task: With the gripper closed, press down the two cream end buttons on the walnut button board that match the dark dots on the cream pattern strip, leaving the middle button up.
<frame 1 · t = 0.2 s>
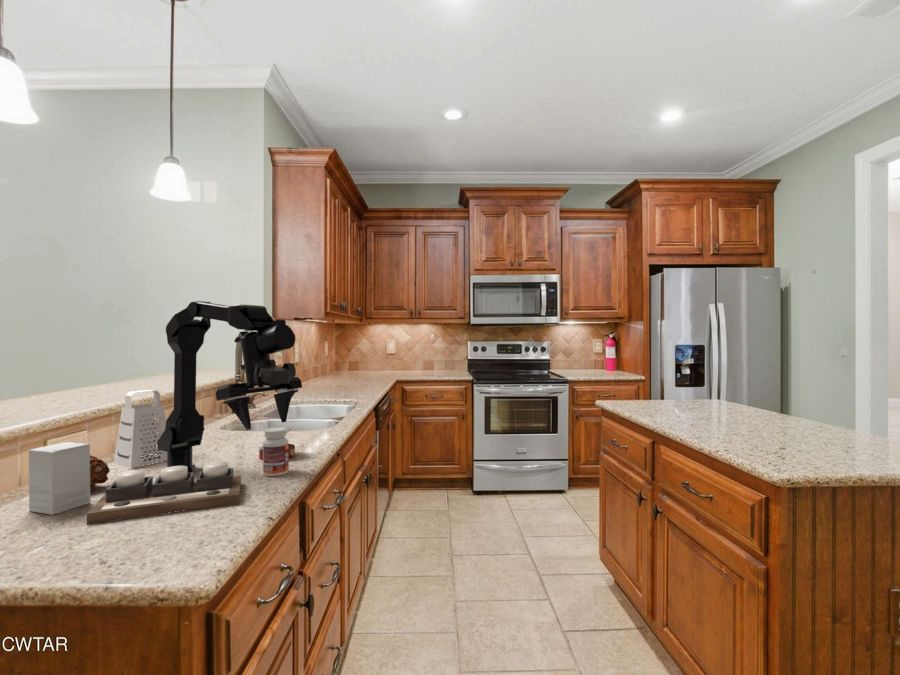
hand: (267, 425, 103), 15 cm above the countertop, tool pointing down, fingers open, 9 cm apart
grater: (143, 462, 129), on the countertop
pill bottle: (275, 474, 118), on the countertop
dragon fruit: (79, 491, 105), on the countertop
button middle: (174, 474, 99), point 5 cm above the countertop, slide at 0.0 cm
canned food: (277, 458, 134), on the countertop
button 1: (130, 479, 96), point 5 cm above the countertop, slide at 0.0 cm
button board: (172, 501, 97), on the countertop
supplement box: (60, 508, 95), on the countertop
button 2: (215, 470, 102), point 5 cm above the countertop, slide at 0.0 cm
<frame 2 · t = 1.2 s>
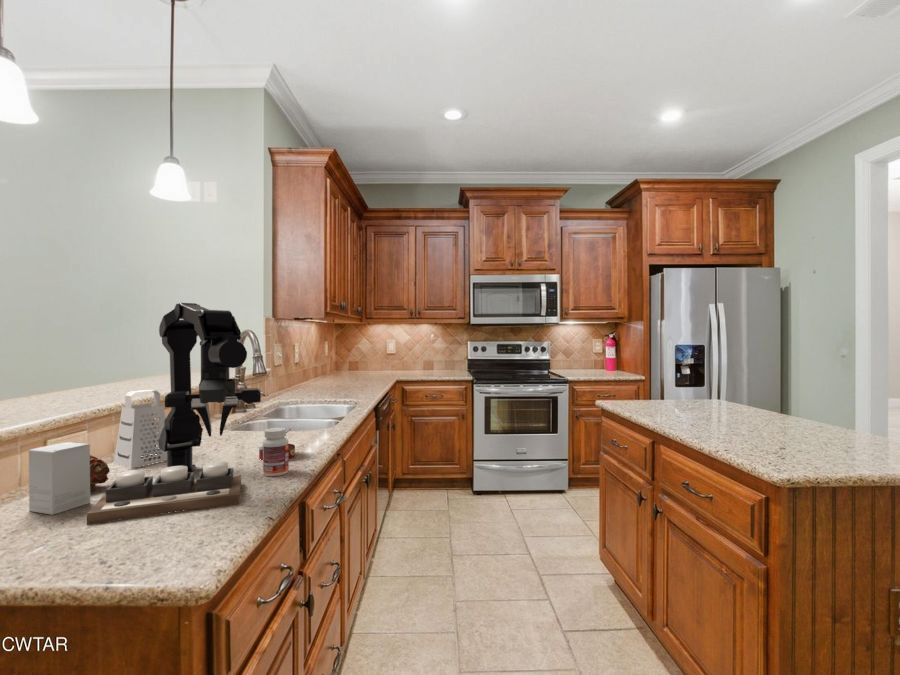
hand: (215, 435, 102), 13 cm above the countertop, tool pointing down, fingers closed
nothing on the countertop moved.
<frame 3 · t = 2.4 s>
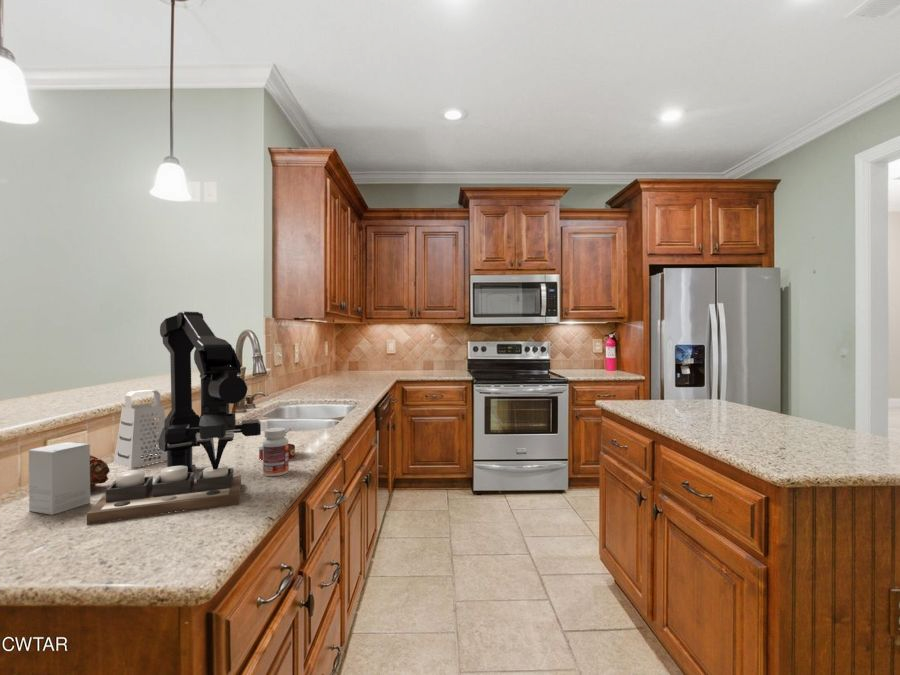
hand: (215, 468, 102), 6 cm above the countertop, tool pointing down, fingers closed, pressing on button 2
button 2: (215, 474, 102), point 4 cm above the countertop, slide at 0.9 cm, touching gripper
everything else where it was.
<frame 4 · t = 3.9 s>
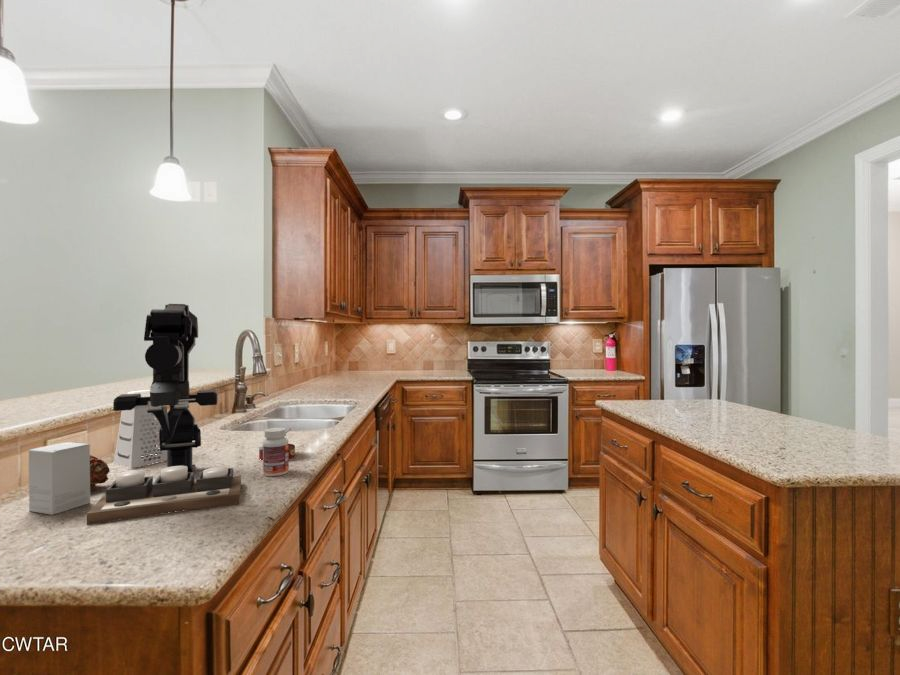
hand: (169, 439, 99), 13 cm above the countertop, tool pointing down, fingers closed
button 2: (215, 475, 102), point 4 cm above the countertop, slide at 1.2 cm
everything else where it was.
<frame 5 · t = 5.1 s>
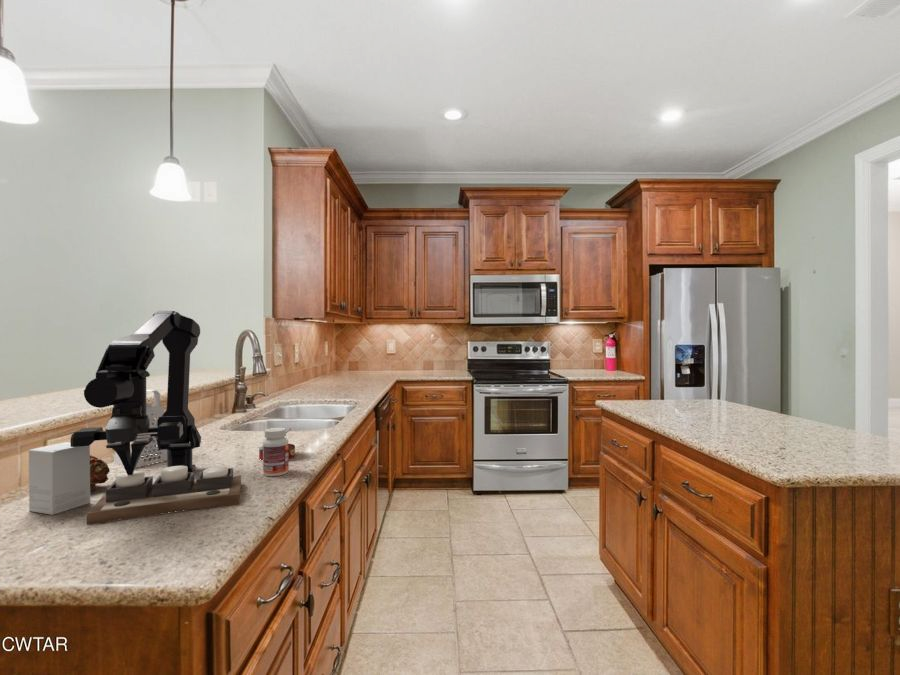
hand: (130, 474, 96), 6 cm above the countertop, tool pointing down, fingers closed, pressing on button 1
button 1: (130, 480, 96), point 5 cm above the countertop, slide at 0.3 cm, touching gripper
everything else where it was.
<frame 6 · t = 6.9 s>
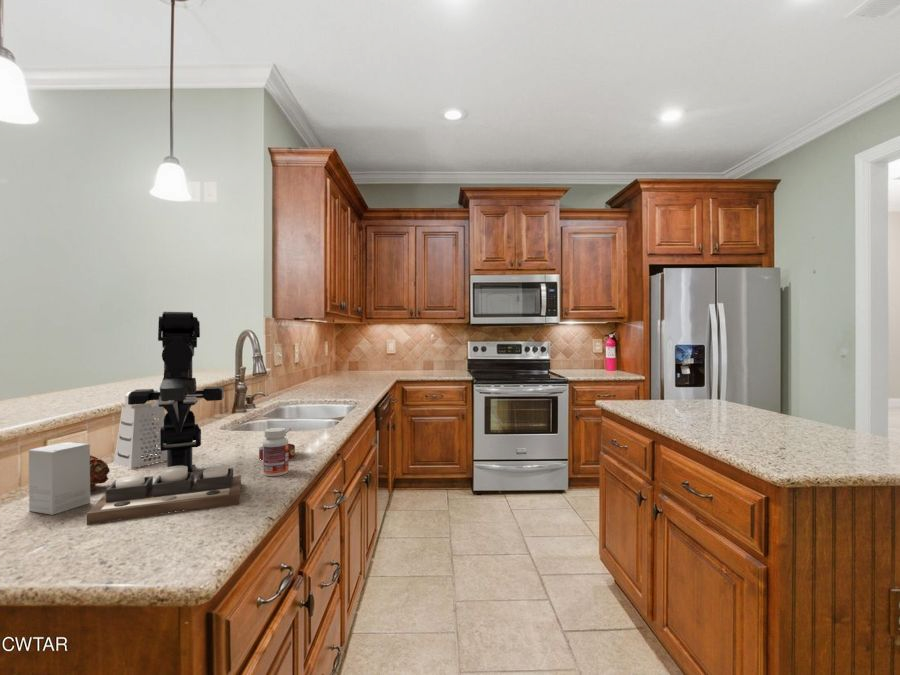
hand: (178, 431, 107), 13 cm above the countertop, tool pointing down, fingers closed
button 1: (130, 484, 96), point 4 cm above the countertop, slide at 1.2 cm
everything else where it was.
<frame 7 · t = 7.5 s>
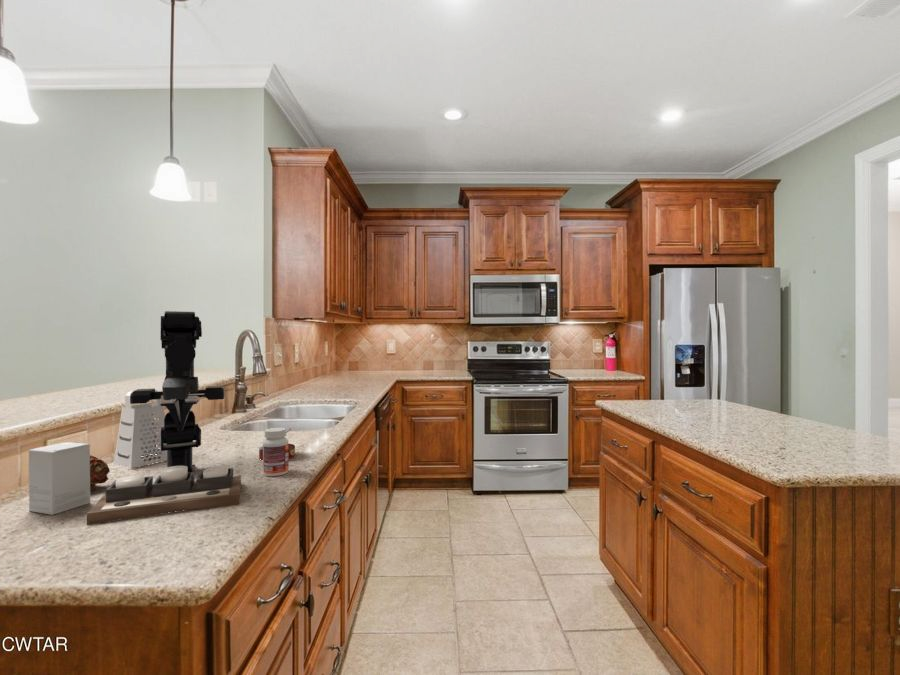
hand: (180, 431, 107), 13 cm above the countertop, tool pointing down, fingers closed
nothing on the countertop moved.
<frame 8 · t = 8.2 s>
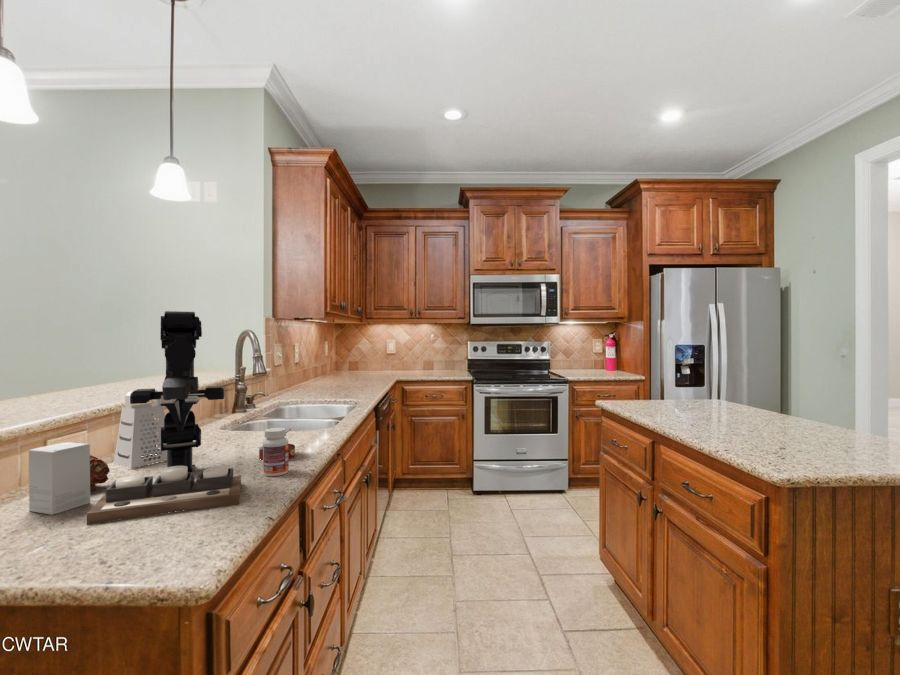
hand: (180, 431, 107), 13 cm above the countertop, tool pointing down, fingers closed
nothing on the countertop moved.
at the end: button 2 slide at 1.2 cm; button 1 slide at 1.2 cm; button middle slide at 0.0 cm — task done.
